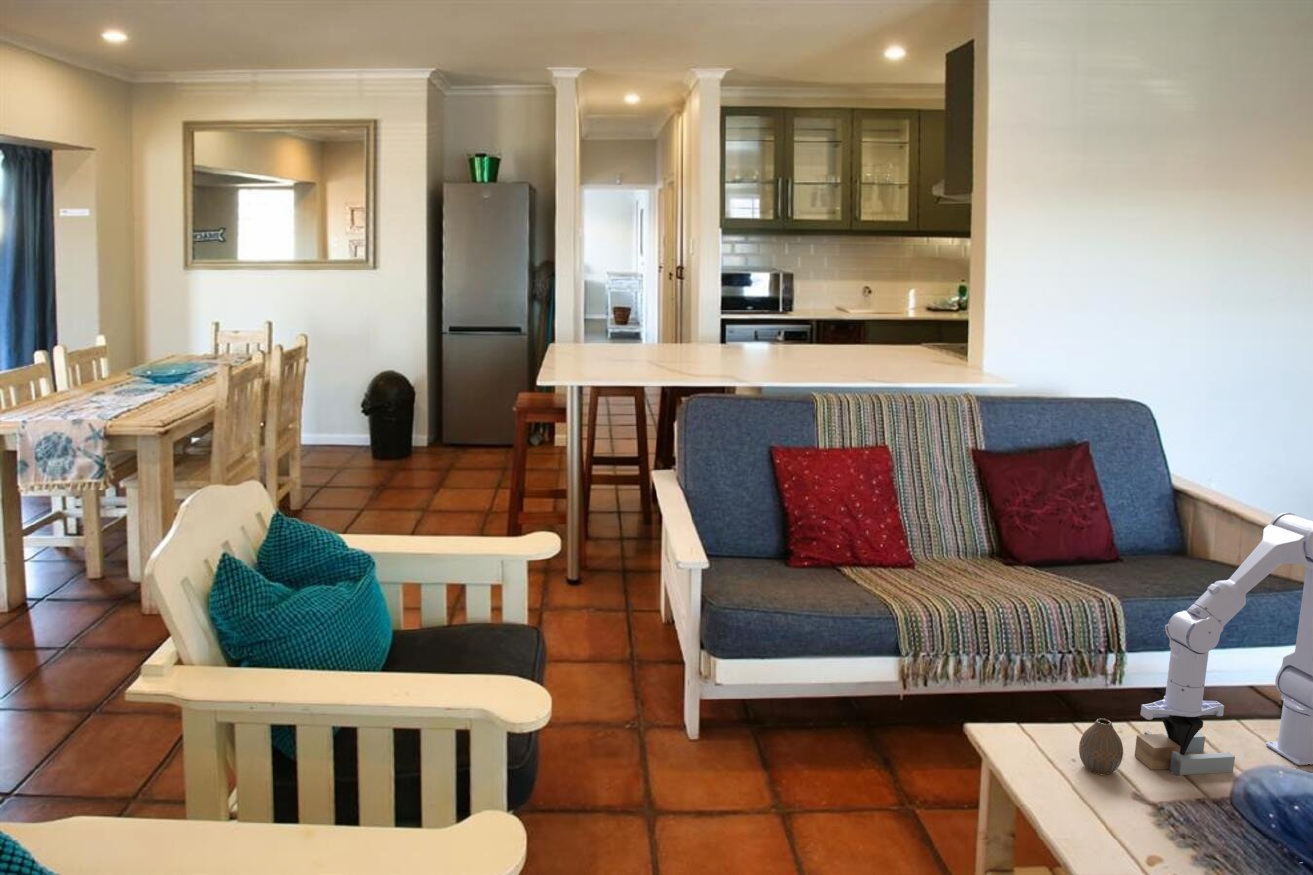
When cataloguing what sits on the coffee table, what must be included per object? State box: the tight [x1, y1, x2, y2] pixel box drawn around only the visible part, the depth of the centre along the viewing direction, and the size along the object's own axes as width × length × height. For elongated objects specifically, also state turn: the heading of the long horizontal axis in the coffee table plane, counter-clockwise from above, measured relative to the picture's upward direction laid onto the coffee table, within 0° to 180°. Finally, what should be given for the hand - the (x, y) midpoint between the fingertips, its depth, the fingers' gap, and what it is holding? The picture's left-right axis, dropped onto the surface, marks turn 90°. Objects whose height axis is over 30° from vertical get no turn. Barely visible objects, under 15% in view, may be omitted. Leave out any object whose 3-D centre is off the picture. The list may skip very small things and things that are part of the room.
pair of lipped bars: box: [1143, 730, 1236, 776], centre depth 178 cm, size 11×9×4 cm
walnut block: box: [1134, 733, 1181, 770], centre depth 177 cm, size 5×5×4 cm
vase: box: [1078, 718, 1124, 776], centre depth 174 cm, size 7×7×9 cm
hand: (1176, 754), depth 178 cm, fingers closed
